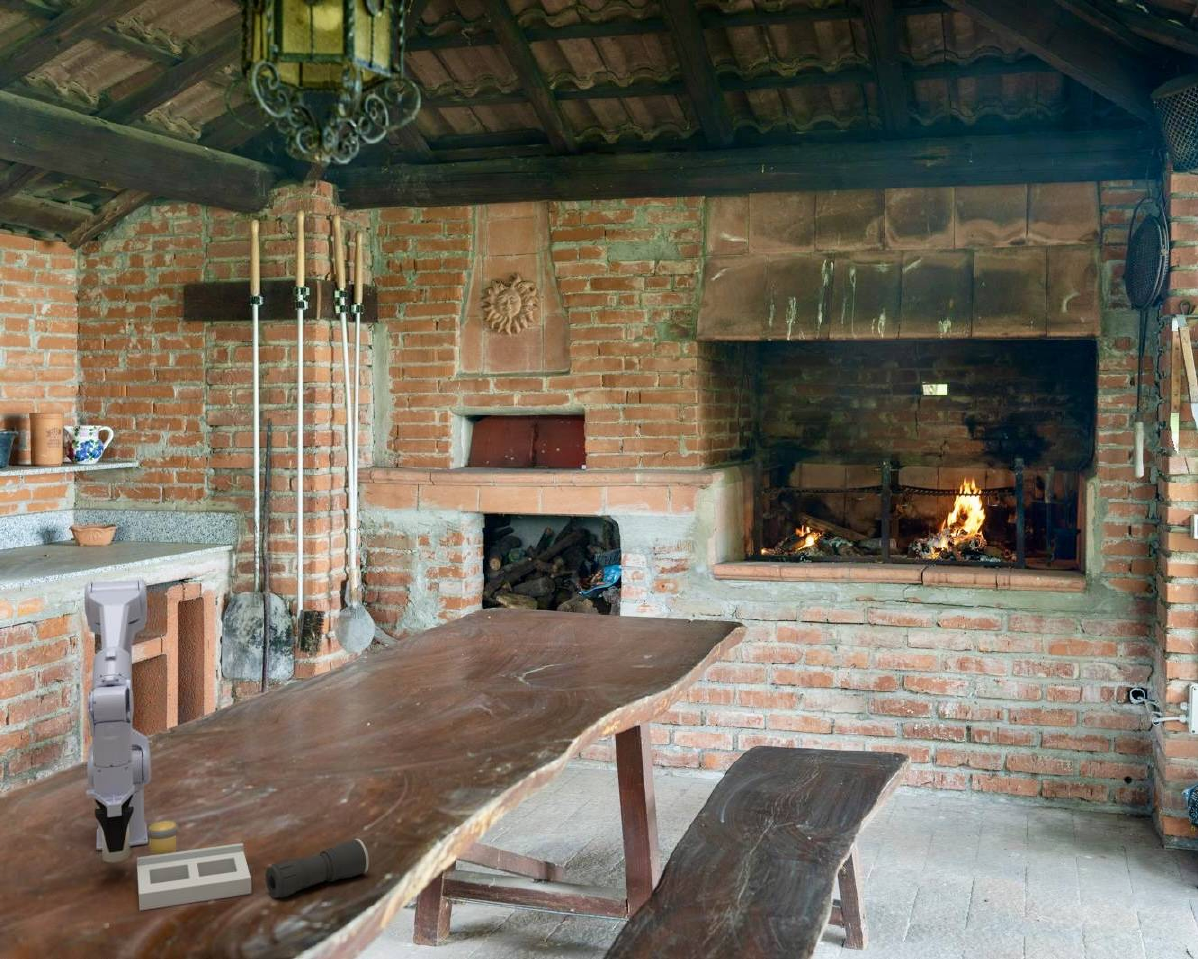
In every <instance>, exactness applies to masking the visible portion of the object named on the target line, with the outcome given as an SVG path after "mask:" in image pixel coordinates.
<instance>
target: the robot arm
mask: <svg viewBox="0 0 1198 959" xmlns="http://www.w3.org/2000/svg"><path fill="white" fill-rule="evenodd" d="M147 590H148V589H147V582H146V581H145V580H144V579H143V578H140V579H138V580H116V581H112V580H111V581H99V582H97V581H95V582H93V581H87V583H86V584H85V586H84V598H83V600H84V612H85V616H86V622H87V626H88V627H89V631H90V632H91V633H93V634H96V635H98V636H100V640H101V641H100V642H101V649H100V650H99V651H98V652H97V653H96V654H95V655H94V658H93V664H92V680H91V681H92V682H91V691H90V690H89V691H88V692H87V700H86V704H87V705H86V706H87V707H86V708H87V709H86V711H87V718H88V722H89V732H90V737H92V738H91V742H90V745H89V746H88V755H87V761H86V762H87V764H86V766H87V767H86V768H87V769H86V770H87V771H86V772H87V773H86V774H87V777H86V778H87V785H88V787H89V789H86V793H85V795H86V798H87V799H91V798H94V801H95V803H96V805H97V808H95V809H94V817H95V818H96V820H97V822H98V828H96V850H97V851H102V829H103V832H104V836H105V841H106V845H107V848H108V851H109V853H111V852H119V851H123V849H124V844H125V838H126V831H127V826H128V823H129V820H130V818H131V821H130V823H129V845H130V847H132V846H141V845H146V844H148V843H149V839H148V838H149V837H148V836H147V827H148V826H147V822H146V821H145V805H144V804H145V800H144V786H145V785H146V786H147V785H148V784H149V783H150V781H151V780H152V779H151V778H152V763H151V762H152V760H151V757H152V756H151V749H150V747H151V746H150V741H149V739H148V737H147V736H146V735H145V734H143V733H141V732H139V731H138V730H136V729H134V727H133V718H134V713H135V710H134V707H135V706H134V703H135V702H134V691H133V672H132V671H133V668H132V667H133V664H132V663H133V662H132V661H133V657H132V654H133V653H132V648H133V643H134V640H135V636H136V634H137V633H138V632H141V631H142V630H144V629H146V624H147V621H148V620H147V618H148V615H147V612H148V591H147ZM99 823H100V824H99ZM100 825H101V826H100Z"/></svg>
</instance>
